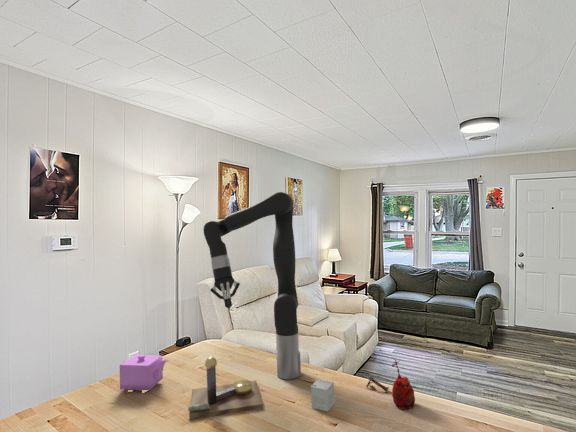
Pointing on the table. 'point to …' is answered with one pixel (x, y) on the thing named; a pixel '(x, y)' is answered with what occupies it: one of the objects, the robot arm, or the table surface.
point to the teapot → (141, 372)
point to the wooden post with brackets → (376, 384)
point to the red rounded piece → (403, 392)
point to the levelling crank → (237, 388)
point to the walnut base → (223, 402)
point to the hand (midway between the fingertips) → (229, 307)
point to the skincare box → (322, 395)
